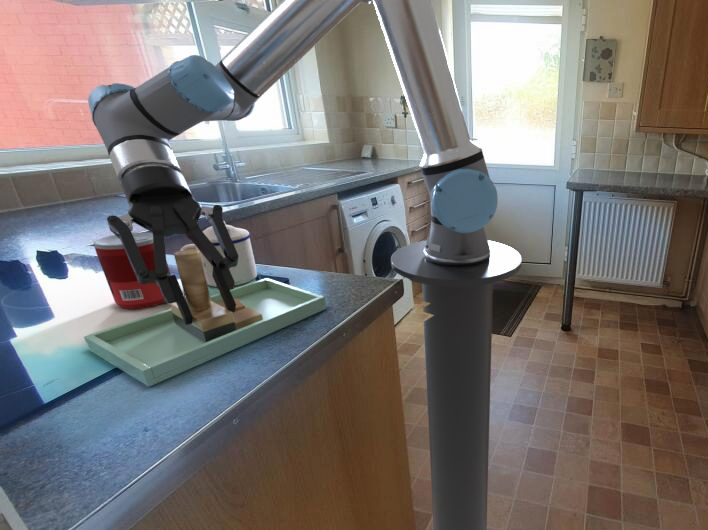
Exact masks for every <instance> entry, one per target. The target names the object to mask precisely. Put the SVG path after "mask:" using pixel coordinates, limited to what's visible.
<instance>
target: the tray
mask: <svg viewBox="0 0 708 530" xmlns="http://www.w3.org/2000/svg"><path fill="white" fill-rule="evenodd" d="M230 292H231V294H232V296H233V299H235V298H237V299H238V300H239V301H240V302H241V303H242V304H243V305H244V306H245V308H248V307H249V308H251V309H253V310H255V311H257V312H259V313H261V314H262V317H263V320H261V321H258V322H256V323H253V324H251V325H248V326H246V327H243V328H241V329H238V330H236V331H233V332H231V333H228V334H226V335H223V336H221V337H219V338H216V339H214V340H211V341H209V342H206V343H205V342H203V341H202V340H200V339H199V338H197V337H196V336H194V335H193V334H191V333H189V332H188V331H186V330H185V329H183V328H182V327H180V326H178V325H177V324H175V320H174V317H173V313H172V310H171V308H168V309H165V310H162V311H159V312H155V313H153V314H149V315H147V316H144V317H143V316H142V317H140V318H136V319H134V320H131V321H127V322H124V323H122V324H118V325H115V326H112V327H109V328H106V329H102V330H99V331H96V332H94V333H89V334H87V335H84V336H83V338H84V340H85V342H86V345H87V347H88V349H89V352H91V353H93V354H94V355H96V356H98V357H100V358H101V359H103V360H104V361H106V362H108V363H109V364H111V365H112V366H114V367H115V368H118V369H119V370H121V371H122V372H124V373H126V374H127V375H129V376H130V377H132V378H134V379H135V380H136V381H138V382H140V383H142V384H144V385H145V386H146V387H148V388H150V387H152V386H154V385H157V384H159V383H161V382H164V381H166V380H167V379H170V378H173V377H175V376H177V375H179V374H181V373H184V372H187V371H189V370H190V369H192V368H195V367H198V366H199V365H202V364H204V363H207V362H209V361H210V360H214V359H216V358H218V357H220V356H222V355H225V354H227V353H229V352H232V351H234V350H236V349H238V348H240V347H243V346H245V345H247V344H250V343H252V342H254V341H257V340H259V339H261V338H263V337H265V336H268V335H270V334H272V333H275V332H277V331H279V330H281V329H283V328H286V327H289V326H291V325H293V324H295V323H297V322H300V321H302V320H304V319H307V318H309V317H311V316H313V315H315V314H318V313H320V312H322V311H324V310H327V301H326V296H324V295H321V294H317V293H314V292H312V291H308V290H305V289H303V288H299V287H296V286H293V285H290V284H288V283H284V282H281V281H278V280H275V279H272V278H269V277H265V278H262V279H259V280H255V281H251V282H248V283H245V284H242V285H239V286H237V287H234V289H232V290H230ZM210 298H211V301H212V302H214V303H219V302H223V299H222V297H221V294H220V292H218V293H215V294H212V295H210Z"/></svg>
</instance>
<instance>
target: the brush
mask: <svg viewBox="0 0 708 530" xmlns="http://www.w3.org/2000/svg"><path fill="white" fill-rule="evenodd" d="M173 257H174V260H175V264H176V267H177V273H178V275H179V278H180V284H181V286H182V291H183V295H184V297H185V299H186V302H187V304H188V307H189V309H190V311H191V314H192V324H188V325H186V324H185V322H184V319H183V317H182V315H181V312H180V310H179V308H178V305H177V303H176V302H175V303H170V304H169V306H170V309H171V310H172V313H173V317H174V320H175V324H177V325H178V326H180V327H182V328H183V329H185V330H186V331H188V332H189V333H191V334H193V335H194V336H196V337H197V338H199V339H200V340H202V341H203V342H205V343H206V342H209V341H211V340H214V339H216V338H219V337H221V336H223V335H226V334H228V333H231V332H233V331H236V326H235V321H234V317H233V312H231V311H229V310H227V309H225V308H224V307H222V306H220V305H218V304H216V303H214V302H212V301H211V298H210V296H211V293H210V290H209V285H208V284H207V281H206V277H205V273H204V269H203V265H202V260H201V256H200V252H199V250H196V249H187V250H181V251H180V250H178V251H175V252H173Z"/></svg>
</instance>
